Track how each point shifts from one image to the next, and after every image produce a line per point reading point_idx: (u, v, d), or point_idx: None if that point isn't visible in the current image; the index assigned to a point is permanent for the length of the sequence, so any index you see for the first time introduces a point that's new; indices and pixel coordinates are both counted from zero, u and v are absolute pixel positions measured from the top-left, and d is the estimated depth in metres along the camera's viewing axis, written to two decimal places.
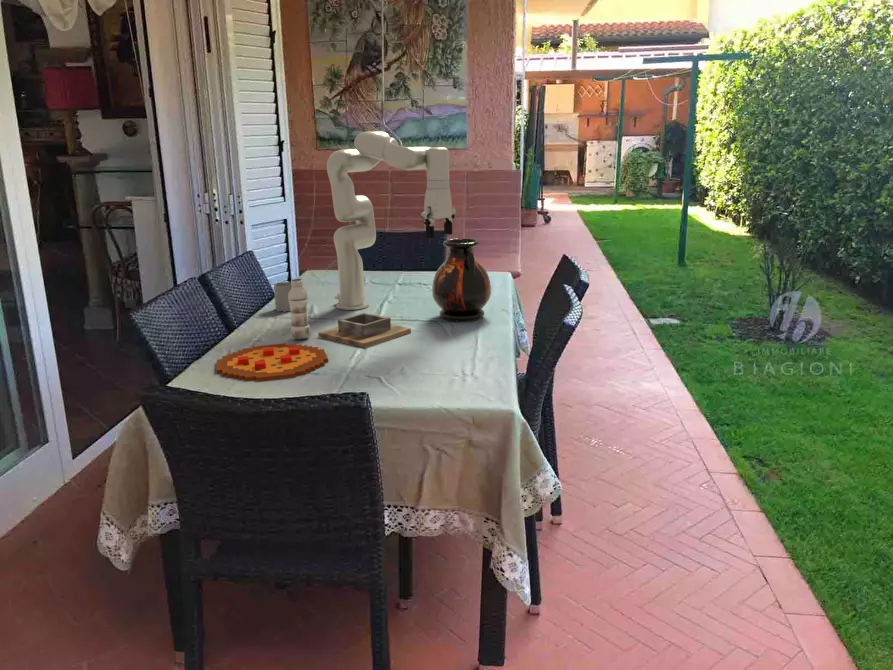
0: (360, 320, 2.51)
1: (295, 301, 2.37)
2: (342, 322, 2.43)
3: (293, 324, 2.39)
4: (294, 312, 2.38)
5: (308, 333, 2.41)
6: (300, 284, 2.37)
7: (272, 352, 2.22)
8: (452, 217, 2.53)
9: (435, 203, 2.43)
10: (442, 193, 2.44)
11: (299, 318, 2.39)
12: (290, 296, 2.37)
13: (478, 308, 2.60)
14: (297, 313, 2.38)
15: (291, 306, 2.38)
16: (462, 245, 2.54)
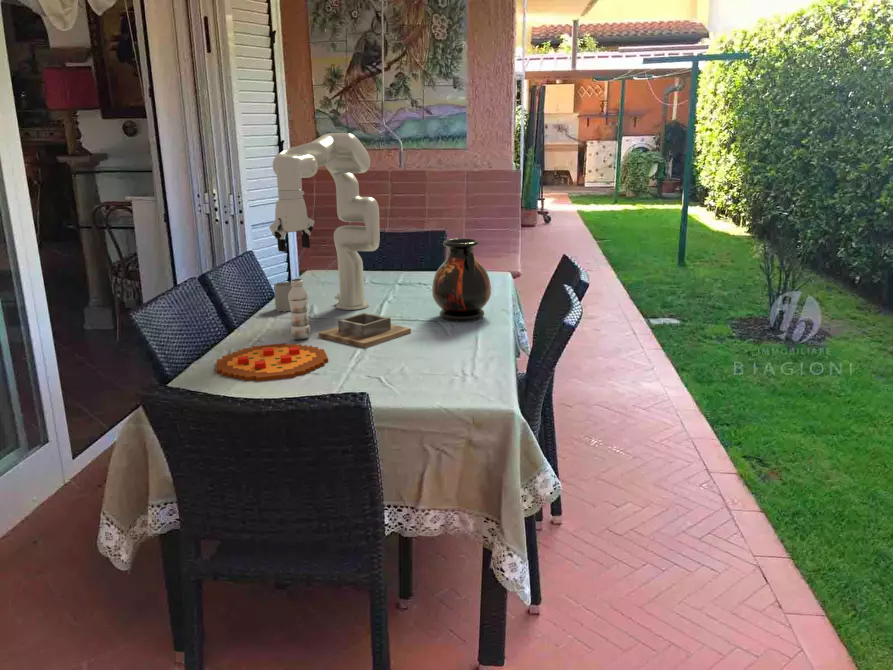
0: (360, 320, 2.51)
1: (295, 301, 2.37)
2: (342, 322, 2.43)
3: (293, 324, 2.39)
4: (294, 312, 2.38)
5: (308, 333, 2.41)
6: (300, 284, 2.37)
7: (272, 352, 2.22)
8: (310, 229, 2.38)
9: (285, 215, 2.27)
10: (294, 204, 2.29)
11: (299, 318, 2.39)
12: (290, 296, 2.37)
13: (478, 308, 2.60)
14: (297, 313, 2.38)
15: (291, 306, 2.38)
16: (462, 245, 2.54)
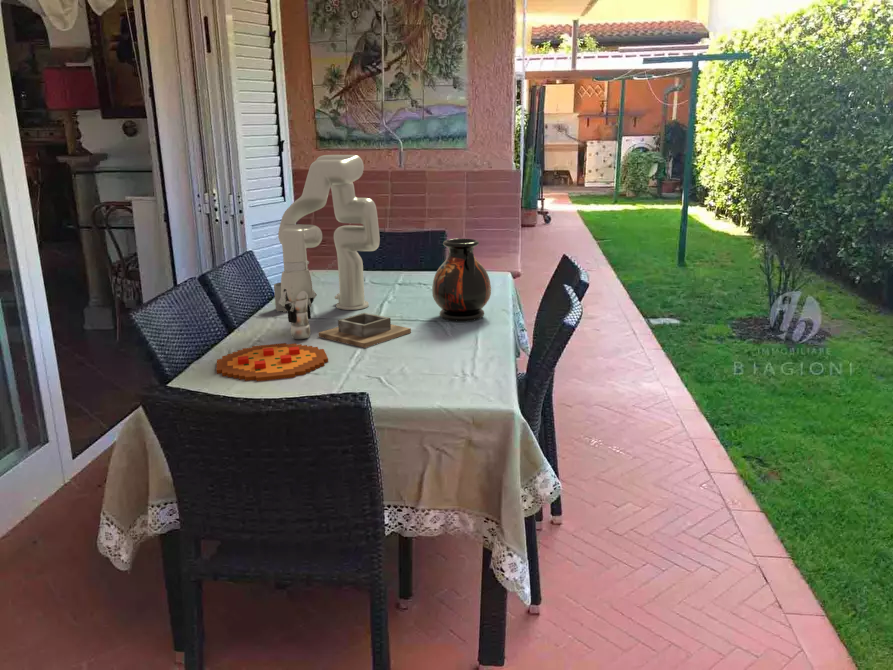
0: (360, 320, 2.51)
1: None
2: (342, 322, 2.43)
3: (293, 324, 2.39)
4: None
5: (308, 333, 2.41)
6: None
7: (272, 352, 2.22)
8: (310, 301, 2.43)
9: (290, 286, 2.34)
10: (299, 275, 2.35)
11: (299, 318, 2.39)
12: None
13: (478, 308, 2.60)
14: (297, 313, 2.38)
15: None
16: (462, 245, 2.54)
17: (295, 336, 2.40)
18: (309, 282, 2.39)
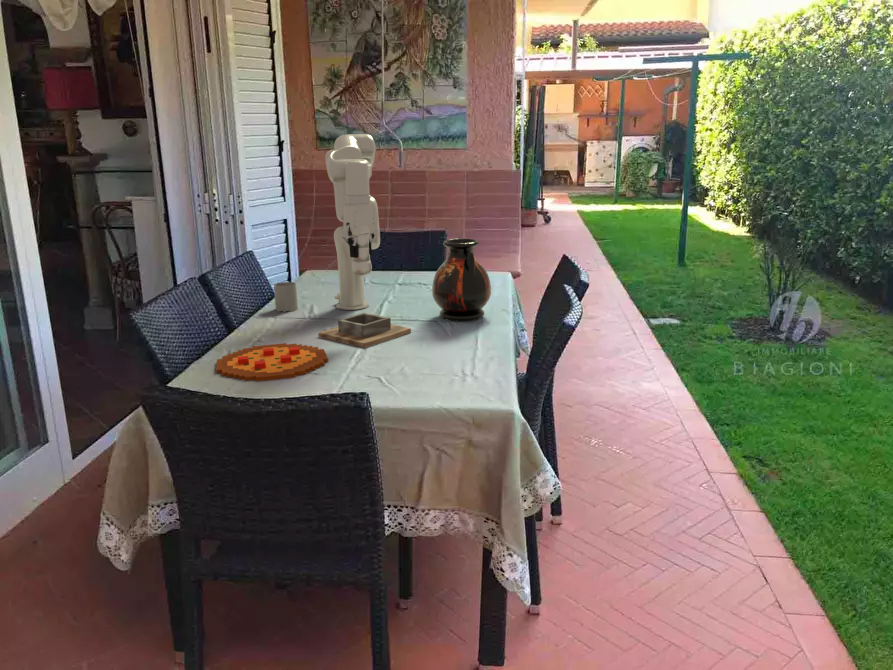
0: (360, 320, 2.51)
1: None
2: (342, 322, 2.43)
3: (355, 259, 2.37)
4: None
5: (370, 269, 2.39)
6: None
7: (272, 352, 2.22)
8: (371, 237, 2.41)
9: (354, 219, 2.31)
10: (362, 208, 2.33)
11: (361, 253, 2.37)
12: None
13: (478, 308, 2.60)
14: (359, 248, 2.36)
15: None
16: (462, 245, 2.54)
17: (357, 271, 2.38)
18: (371, 217, 2.37)
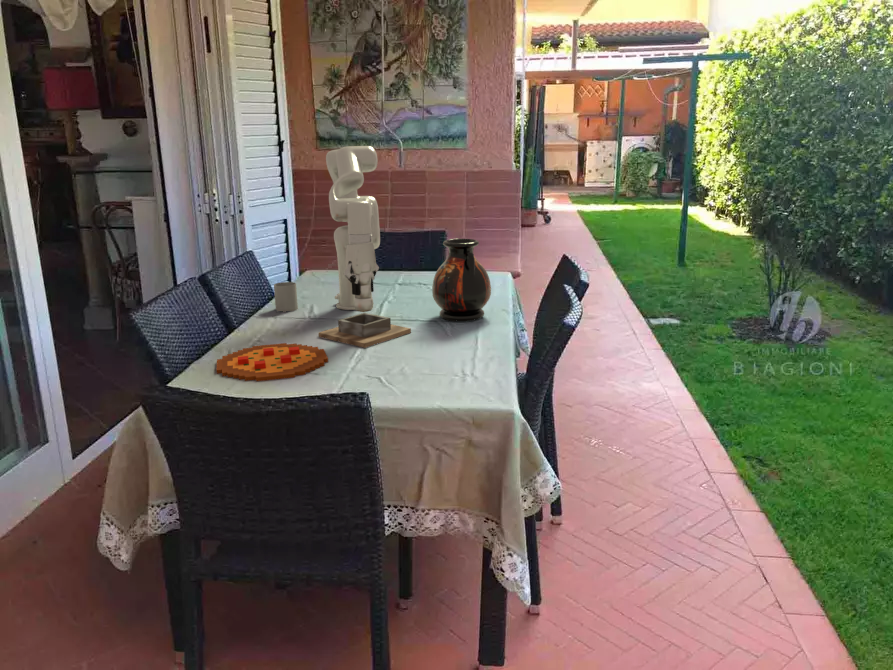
0: (360, 320, 2.51)
1: None
2: (342, 322, 2.43)
3: (357, 296, 2.41)
4: None
5: (371, 306, 2.42)
6: None
7: (272, 352, 2.22)
8: (373, 274, 2.44)
9: (356, 258, 2.35)
10: (364, 247, 2.36)
11: (363, 291, 2.40)
12: None
13: (478, 308, 2.60)
14: (361, 285, 2.39)
15: None
16: (462, 245, 2.54)
17: (359, 309, 2.41)
18: (373, 255, 2.40)
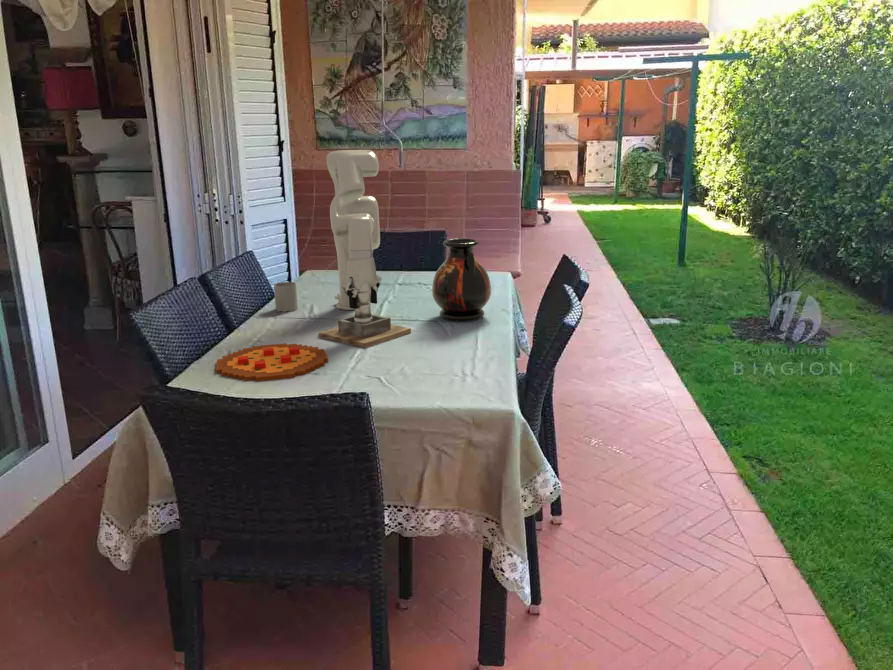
0: None
1: (360, 293, 2.39)
2: (342, 322, 2.43)
3: (357, 316, 2.42)
4: (358, 304, 2.41)
5: None
6: None
7: (272, 352, 2.22)
8: (377, 286, 2.46)
9: (357, 274, 2.36)
10: (365, 263, 2.38)
11: (363, 310, 2.41)
12: None
13: (478, 308, 2.60)
14: (361, 305, 2.41)
15: None
16: (462, 245, 2.54)
17: None
18: (373, 270, 2.42)
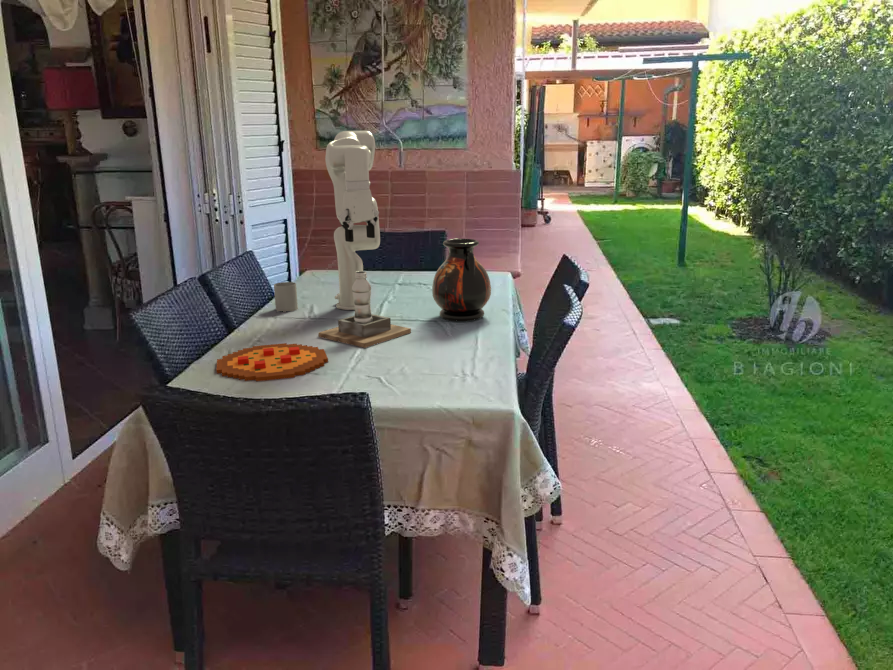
0: None
1: (360, 293, 2.39)
2: (342, 322, 2.43)
3: (357, 316, 2.42)
4: (358, 304, 2.41)
5: None
6: (364, 276, 2.40)
7: (272, 352, 2.22)
8: (375, 220, 2.41)
9: (353, 205, 2.30)
10: (361, 194, 2.32)
11: (363, 310, 2.41)
12: (355, 288, 2.39)
13: (478, 308, 2.60)
14: (361, 305, 2.41)
15: (355, 298, 2.41)
16: (462, 245, 2.54)
17: None
18: (370, 203, 2.36)
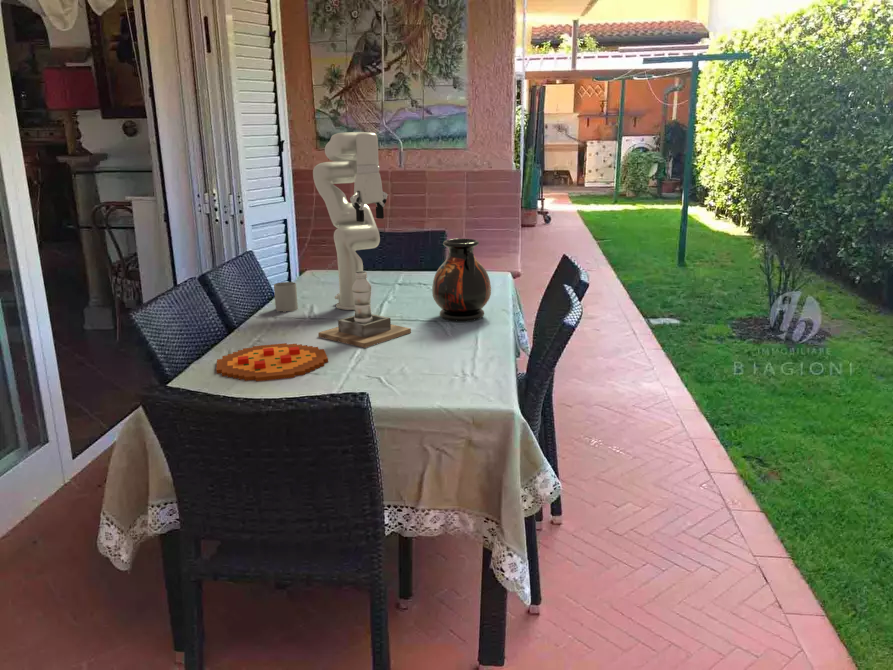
0: None
1: (360, 293, 2.39)
2: (342, 322, 2.43)
3: (357, 316, 2.42)
4: (358, 304, 2.41)
5: None
6: (365, 276, 2.40)
7: (272, 352, 2.22)
8: (383, 202, 2.58)
9: (364, 187, 2.48)
10: (372, 177, 2.49)
11: (363, 310, 2.41)
12: (355, 288, 2.39)
13: (478, 308, 2.60)
14: (361, 305, 2.41)
15: (355, 298, 2.41)
16: (462, 245, 2.54)
17: None
18: (380, 186, 2.53)
